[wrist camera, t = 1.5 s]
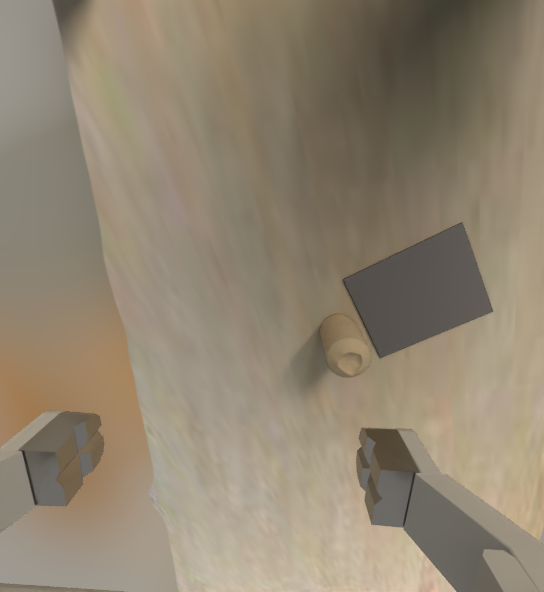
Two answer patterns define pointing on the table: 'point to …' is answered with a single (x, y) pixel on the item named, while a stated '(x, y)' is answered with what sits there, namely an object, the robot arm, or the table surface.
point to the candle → (344, 346)
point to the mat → (420, 291)
